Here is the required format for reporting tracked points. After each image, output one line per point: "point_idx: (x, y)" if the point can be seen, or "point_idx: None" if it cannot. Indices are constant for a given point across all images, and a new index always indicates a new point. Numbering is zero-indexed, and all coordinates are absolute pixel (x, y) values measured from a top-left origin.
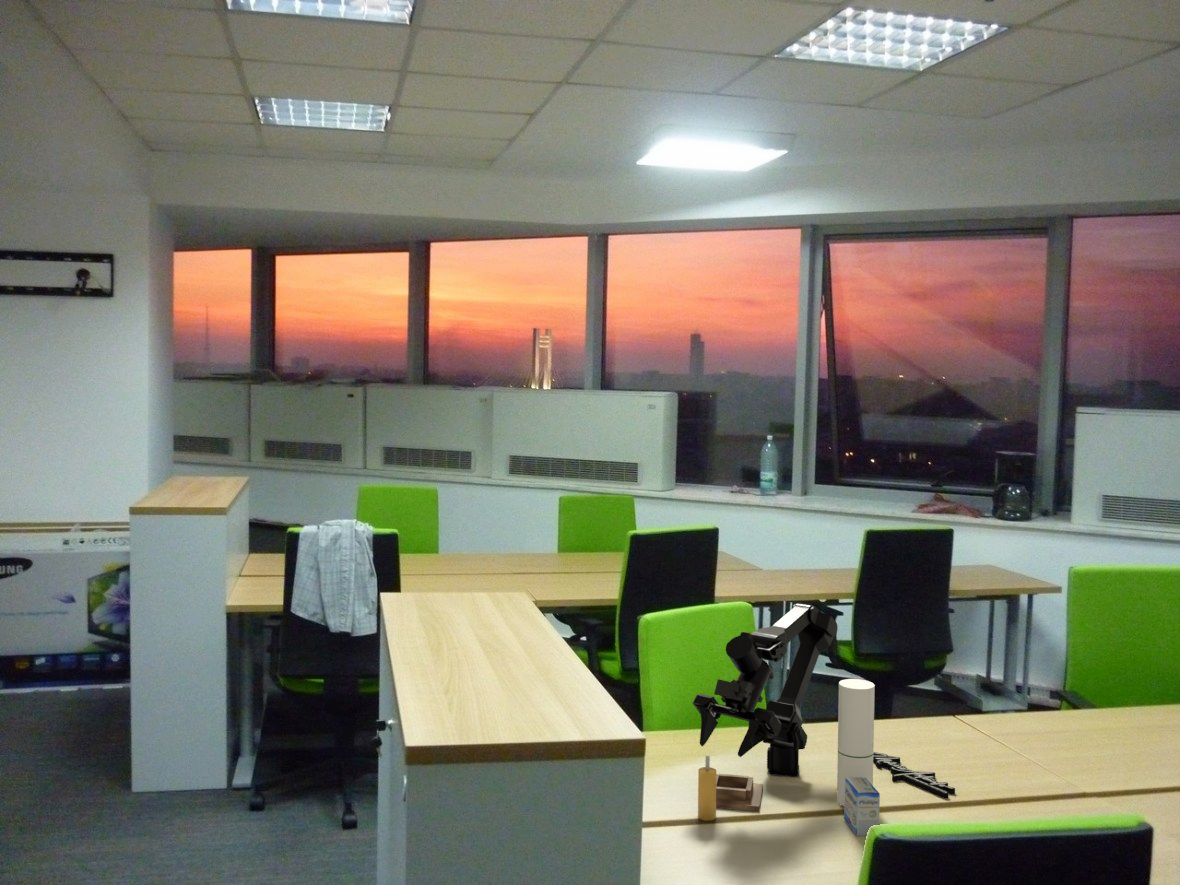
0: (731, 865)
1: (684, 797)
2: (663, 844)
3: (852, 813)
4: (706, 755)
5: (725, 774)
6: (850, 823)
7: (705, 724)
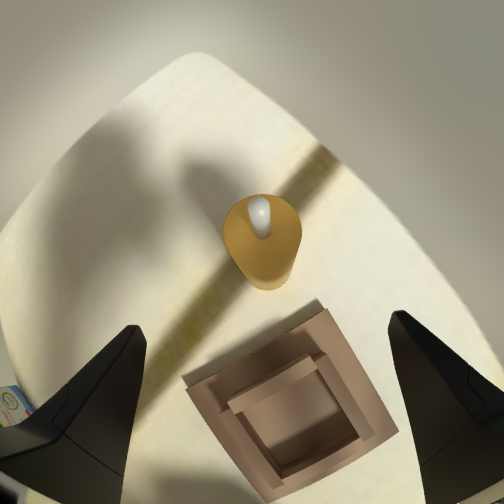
0: (110, 138)
1: (387, 320)
2: (247, 105)
3: (10, 410)
4: (266, 206)
5: (349, 454)
6: (30, 413)
7: (459, 390)
